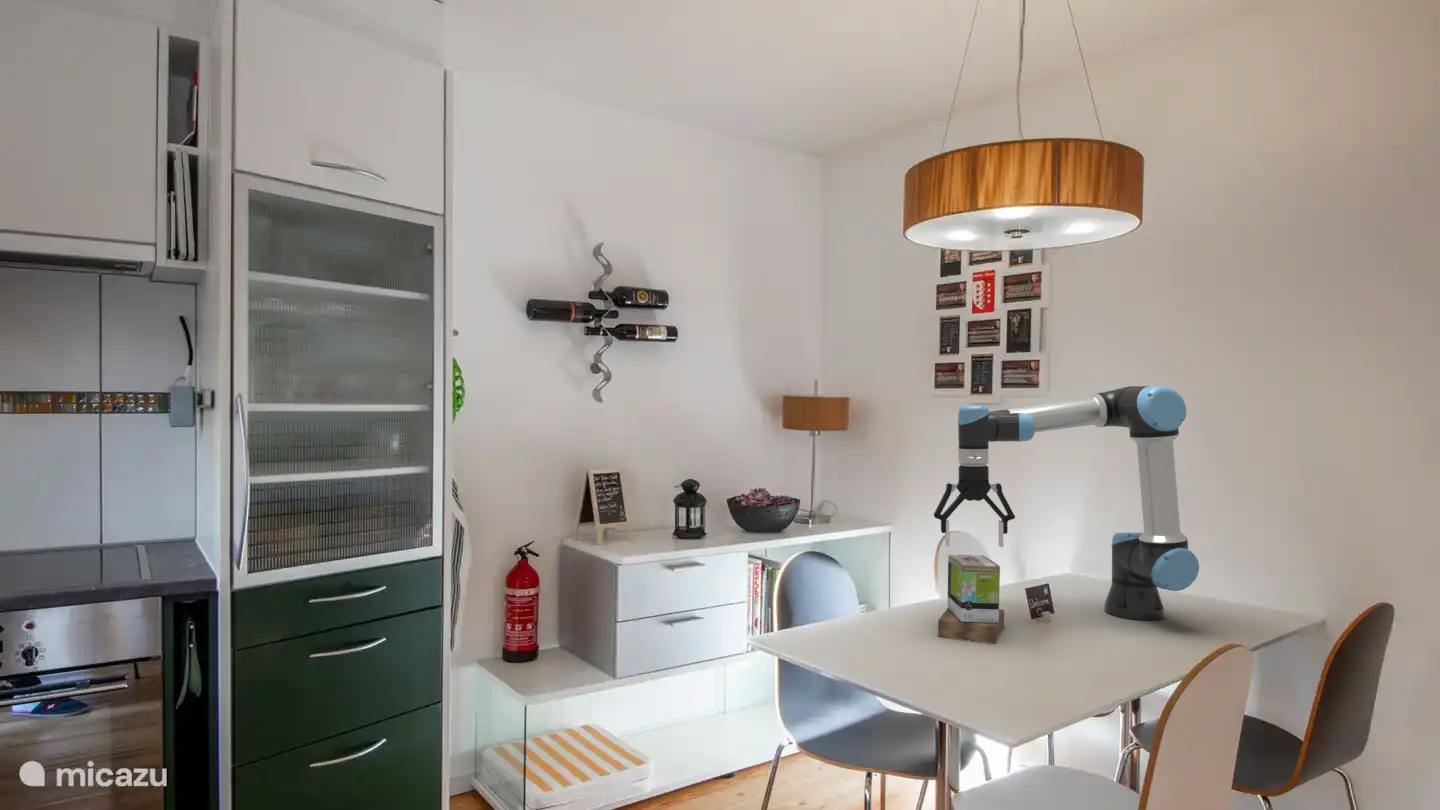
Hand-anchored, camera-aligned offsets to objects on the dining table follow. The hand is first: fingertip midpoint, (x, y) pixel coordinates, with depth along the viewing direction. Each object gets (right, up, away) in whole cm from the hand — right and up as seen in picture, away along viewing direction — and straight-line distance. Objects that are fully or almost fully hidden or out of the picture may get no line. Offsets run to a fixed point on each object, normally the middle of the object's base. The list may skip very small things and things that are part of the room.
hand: (974, 545), depth 218 cm
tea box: (-1, -18, 0) cm, 18 cm away
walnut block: (0, -23, 0) cm, 23 cm away
